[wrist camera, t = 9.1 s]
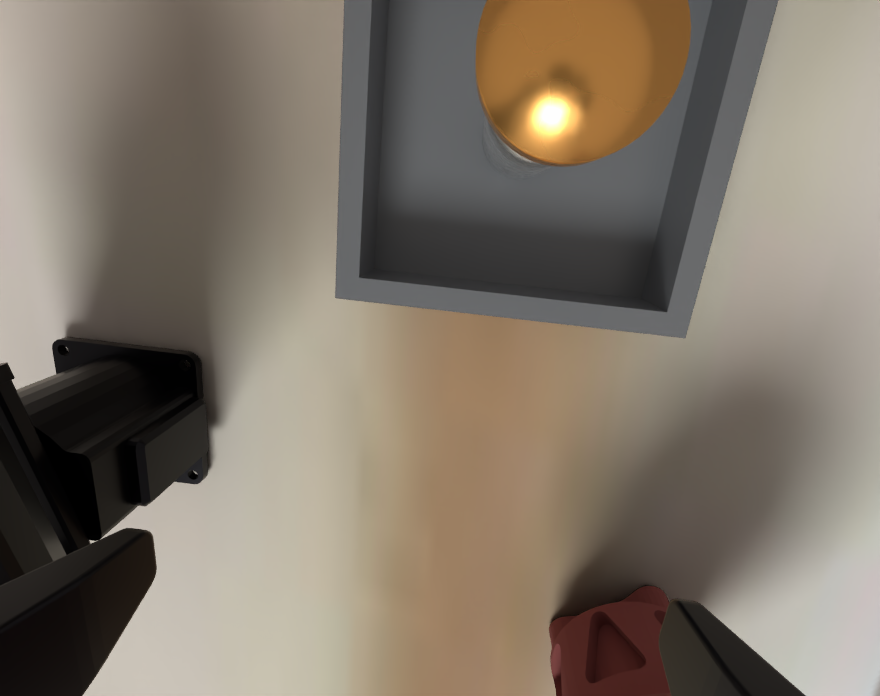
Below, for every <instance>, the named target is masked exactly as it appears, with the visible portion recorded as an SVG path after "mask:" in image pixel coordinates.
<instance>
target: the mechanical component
mask: <svg viewBox="0 0 880 696" xmlns="http://www.w3.org/2000/svg"><path fill="white" fill-rule="evenodd" d="M668 605H669V601H668V599H667V597H666V595H665V593H664V591H662V590H661V589H660V588H657V587H655V586H644V587H641V588H639V589H637V590H636V591H635V592H633V593H632V594H631V595H629V596H628V597H627V598H625V599H623V600H621V601H620V602H616V603H609V604H605V605H601V606H598V607H594V608H592V609H590V610H588V611H585V612H583V613H582V614H580V615H577V616H565V617H560V618H557V619H556V620H554V621H553V622H552V623H551V624H550V627H549V633H550V638H551V644H552V651H551V656H550V657H551V669H552V674H553V679H554V683H555V688H556V696H671V694H670V690H669V686H668V682H667V678H666V674H665V670H664V666H663V662H662V659H661V655H660V650H659V634H660V630H661V627H662V624H663V621H664V617H665V614H666V611H667V608H668Z"/></svg>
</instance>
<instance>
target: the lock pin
mask: <svg viewBox="0 0 880 696" xmlns="http://www.w3.org/2000/svg"><path fill="white" fill-rule="evenodd" d="M690 36H691V19H690V8H689V3H688V0H487V1H486V3H485V6H484V8H483V12H482V15H481V19H480V22H479V27H478V33H477V40H476V62H475V73H476V85H477V91H478V96H479V100H480V103H481V106H482V109H483V111H484V114H485V117H484V124H483V132H482V145H483V150H484V153H485V156H486V158H487V160H488V162H489V163H490V165H491V166H492V167H493V168H494V169H495V170H496V171H497V172H499V173H500V174H502V175H504V176H506V177H509V178H512V179H527V178H531V177H533V176H536V175H538V174H540V173H541V172H543V171H545V170H547V169H549V168H550V167H552V166H557V167H568V166H577V165H582V164H586V163H590V162H592V161H595V160H597V159H600V158H603V157H605V156H607V155H610V154H612V153H615V152H617V151H618V150H620V149H622V148H624V147H626V146H627V145H629V144H630V143H632V142H633V141H634V140H636V139H637V138H639V137H640V136H641V135H642V134H643V133H644V132H645V131H647V130H648V129H649V128H650V127H651V126H652V125H653V123H654V122H655V121H656V120H657V119H658V118H659V117H660V115H661V114H662V113H663V111H664V110H665V108H666V107H667V105H668V104H669V102H670V101H671V99H672V97H673V95H674V93H675V91H676V90H677V87H678V85H679V83H680V80H681V78H682V75H683V72H684V69H685V65H686V62H687V58H688V52H689V46H690Z"/></svg>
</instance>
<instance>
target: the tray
mask: <svg viewBox="0 0 880 696" xmlns="http://www.w3.org/2000/svg"><path fill="white" fill-rule="evenodd" d="M486 1H487V0H344V29H343V62H342V95H341V127H340V160H339V193H338V225H337V258H336V291H335V298H339V299H348V300H356V301H365V302H374V303H383V304H391V305H400V306H409V307H417V308H426V309H435V310H444V311H452V312H461V313H470V314H479V315H487V316H496V317H505V318H513V319H522V320H531V321H540V322H548V323H557V324H566V325H575V326H583V327H592V328H601V329H610V330H618V331H627V332H636V333H644V334H653V335H662V336H671V337H679V338H685V337H686V334H687V330H688V326H689V323H690V319H691V316H692V312H693V308H694V305H695V301H696V297H697V294H698V290H699V286H700V283H701V279H702V276H703V272H704V268H705V265H706V261H707V257H708V254H709V250H710V246H711V243H712V239H713V236H714V232H715V228H716V225H717V221H718V217H719V214H720V210H721V206H722V203H723V199H724V196H725V192H726V188H727V185H728V181H729V177H730V174H731V170H732V166H733V163H734V159H735V156H736V152H737V148H738V145H739V141H740V137H741V134H742V130H743V126H744V123H745V119H746V116H747V112H748V108H749V105H750V101H751V97H752V94H753V90H754V86H755V83H756V79H757V76H758V72H759V68H760V65H761V61H762V57H763V54H764V50H765V46H766V43H767V39H768V36H769V32H770V28H771V25H772V21H773V17H774V14H775V10H776V6H777V3H778V0H688V3H689V8H690V19H691V36H690V46H689V52H688V58H687V62H686V65H685V69H684V72H683V75H682V78H681V80H680V83H679V85H678V87H677V90H676V91H675V93H674V95H673V97H672V99H671V101H670V102H669V104H668V105H667V107H666V108H665V110H664V111H663V113H662V114H661V115H660V117H659V118H658V119H657V120H656V121H655V122H654V123H653V125H652V126H651V127H650V128H649V129H648V130H647V131H645V132H644V133H643V134H642V135H641V136H640V137H639V138H637V139H636V140H634V141H633V142H632V143H630V144H629V145H627V146H626V147H624V148H622V149H620V150H618V151H617V152H615V153H612V154H610V155H607V156H605V157H603V158H600V159H597V160H595V161H592V162H590V163H586V164H582V165H577V166H568V167H557V166H552V167H550V168H549V169H547V170H545V171H543V172H541V173H540V174H538V175H536V176H533V177H531V178H527V179H512V178H509V177H506V176H504V175H502V174H500V173H499V172H497V171H496V170H495V169H494V168H493V167H492V166H491V165H490V163H489V162H488V160H487V158H486V156H485V153H484V150H483V145H482V132H483V124H484V117H485V114H484V111H483V109H482V106H481V103H480V100H479V96H478V91H477V85H476V73H475V62H476V40H477V33H478V27H479V22H480V19H481V15H482V12H483V8H484V6H485V3H486Z"/></svg>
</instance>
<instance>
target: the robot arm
mask: <svg viewBox="0 0 880 696" xmlns="http://www.w3.org/2000/svg"><path fill="white" fill-rule="evenodd" d="M66 347H67V348H68V350H69V352H68V351H67V349H66ZM52 350H53V356H54V362H55V368H56V375H53V376H51V377H48V378H46V379H43V380H41V381H38V382H35V383H33V384H30V385H28V386H25V387H23V388H20V389H18V390H16V389H15V387H14V385H13V383H12V379H14V376H13V374H12V371H11V369H10V367H9V365H8V363H1V364H0V696H82V695H83V694H84V693H85V691H86V690H87V688H88V687H89V685H90V684H91V682H92V681H93V680H94V678H95V677H96V675H97V674H98V672H99V670H100V669H101V667H102V666H103V664H104V663H105V661H106V659H107V658H108V656H109V654H110V653H111V651H112V649H113V648H114V646H115V644H116V643H117V641H118V639H119V638H120V636H121V634H122V633H123V631H124V629H125V628H126V626H127V624H128V623H129V621H130V619H131V618H132V616H133V614H134V613H135V611H136V609H137V608H138V606H139V604H140V603H141V601H142V599H143V598H144V596H145V594H146V593H147V591H148V589H149V588H150V586H151V584H152V582H153V580H154V578H155V575H156V569H157V566H156V557H155V549H154V541H153V535H152V534H151V532H149V531H147V530H141V529H133V528H126V529H122V530H120V531H118V532H116V533H114V534H111V535H109V536H107V537H105V538H103V539H101V538H102V537H103V536H104V535H105V534H107V533H108V532H109V531H110V530H111V529H112V528H113V527H115V526H116V525H117V524H118V523H119V522H120V521H121V520H123V519H124V518H125V517H126V516H127V515H128V514H129V513H131V512H132V511H133V510H134V509H135V508H136V507H137V506H147V505H148V504H150V503H151V502H152V501H153V500H154V499H155V498H157V497H158V496H159V495H160V494H161V493H162V492H163V491H164V490H165V489H167V488H168V487H169V486H170V485H171V484H172V483H173V482H174V481H175V482H182V483H190V484H198V483H200V482H201V481H202V480H203V479H204V478H205V477H206V476H207V474H208V464H207V452H208V449H209V448H208V432H207V415H206V403H205V402H204V400H203V385H202V369H201V361H200V359H199V357H198V356H197V355H196V354H194V353H192V352H189V351H180V350H172V349H164V348H156V347H147V346H139V345H131V344H123V343H114V342H106V341H98V340H90V339H81V338H73V337H65V338H62V339H59V340H56V341H55V342H54V343H53V345H52ZM185 360H187V361H188V362H189V363H190V367H187V366H186V364H185ZM193 470H194V471H196V472H197V474H198V475H197V474H195V473H194V472H193ZM100 539H101V540H100ZM89 540H94V541H96V540H98V541H96V542H94V543H92V544H91V543H90V541H89ZM659 650H660V655H661V659H662V662H663V666H664V670H665V674H666V678H667V682H668V686H669V690H670V694H671V696H805V695H804V694H803V693H802V692H801V691H800V690H798V689H797V688H796V687H795V686H794V685H793V684H792V683H790V682H789V681H788V680H787V679H786V678H785V677H784V676H783V675H781V674H780V673H779V672H778V671H777V670H776V669H775V668H773V667H772V666H771V665H770V664H769V663H768V662H767V661H765V660H764V659H763V658H762V657H761V656H760V655H759V654H757V653H756V652H755V651H754V650H753V649H752V648H751V647H749V646H748V645H747V644H746V643H745V642H744V641H743V640H741V639H740V638H739V637H738V636H737V635H736V634H735V633H733V632H732V631H731V630H730V629H729V628H728V627H727V626H725V625H724V624H723V623H722V622H721V621H720V620H719V619H717V618H716V617H715V616H714V615H713V614H712V613H711V612H709V611H708V610H707V609H706V608H705V607H704V606H702V605H701V604H700V603H698V602H695V601H689V600H681V599H673V600H671V602H670V603H669V605H668V608H667V611H666V614H665V617H664V621H663V624H662V627H661V630H660V634H659Z"/></svg>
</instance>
